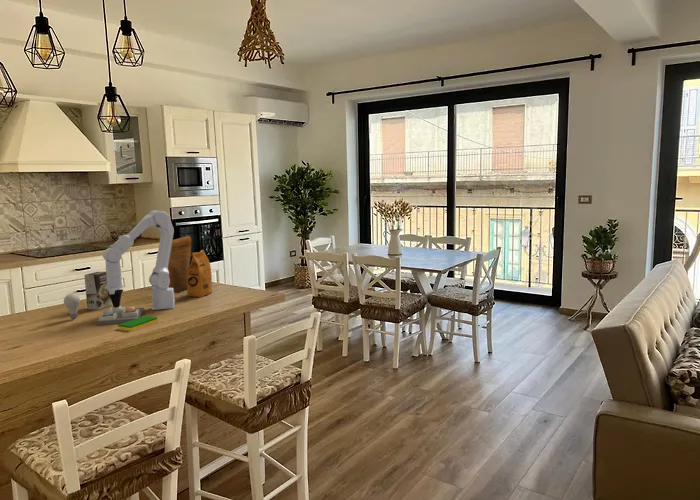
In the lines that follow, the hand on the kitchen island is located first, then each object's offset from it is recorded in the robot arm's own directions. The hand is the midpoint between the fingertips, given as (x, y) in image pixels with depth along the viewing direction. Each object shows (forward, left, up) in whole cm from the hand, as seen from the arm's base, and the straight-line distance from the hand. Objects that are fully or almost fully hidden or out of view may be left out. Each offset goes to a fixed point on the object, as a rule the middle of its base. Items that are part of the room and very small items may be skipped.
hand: (116, 307), depth 218 cm
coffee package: (-33, -31, -4) cm, 45 cm away
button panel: (-3, +4, -4) cm, 6 cm away
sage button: (0, 0, -2) cm, 2 cm away
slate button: (+1, +10, -1) cm, 10 cm away
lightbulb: (+17, 0, -4) cm, 17 cm away
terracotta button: (-7, +6, -1) cm, 9 cm away
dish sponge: (-11, +19, -4) cm, 23 cm away
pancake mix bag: (-23, -44, -4) cm, 49 cm away
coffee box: (+11, -19, -4) cm, 22 cm away
